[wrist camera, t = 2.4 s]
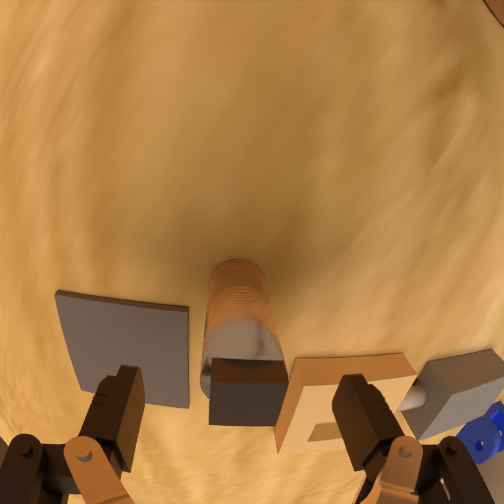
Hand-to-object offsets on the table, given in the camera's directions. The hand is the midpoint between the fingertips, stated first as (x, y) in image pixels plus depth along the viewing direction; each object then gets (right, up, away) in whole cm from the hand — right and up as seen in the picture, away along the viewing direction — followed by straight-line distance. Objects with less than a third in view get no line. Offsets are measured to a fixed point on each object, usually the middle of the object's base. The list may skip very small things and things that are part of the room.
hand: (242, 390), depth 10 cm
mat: (-9, -2, +9) cm, 13 cm away
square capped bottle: (-1, +3, +8) cm, 9 cm away
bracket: (+39, -29, +24) cm, 54 cm away
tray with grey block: (+16, -8, +14) cm, 23 cm away
